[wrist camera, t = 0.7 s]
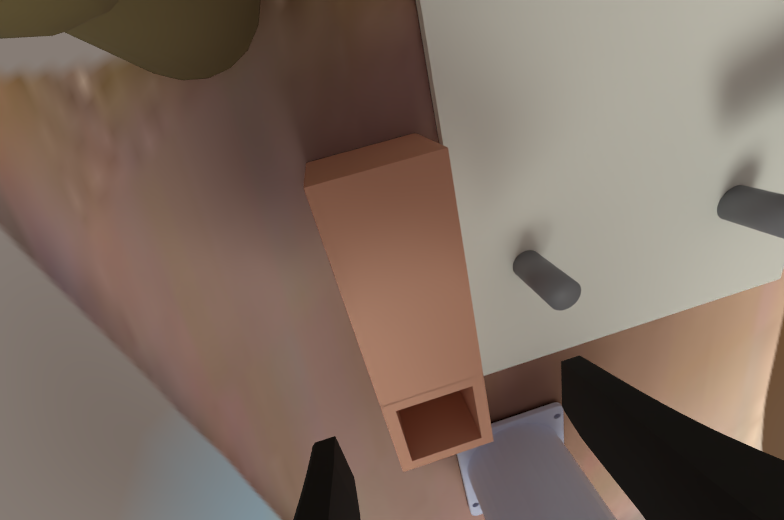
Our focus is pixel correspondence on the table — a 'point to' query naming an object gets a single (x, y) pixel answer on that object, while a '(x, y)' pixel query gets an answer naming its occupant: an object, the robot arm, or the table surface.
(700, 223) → the board
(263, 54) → the table surface
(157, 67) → the cork
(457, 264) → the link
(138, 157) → the table surface
